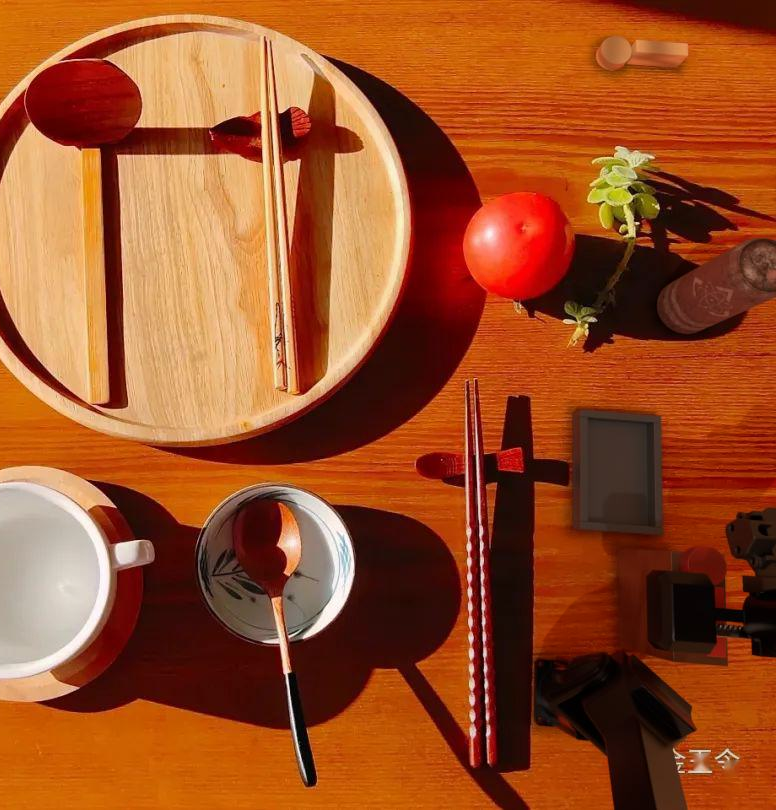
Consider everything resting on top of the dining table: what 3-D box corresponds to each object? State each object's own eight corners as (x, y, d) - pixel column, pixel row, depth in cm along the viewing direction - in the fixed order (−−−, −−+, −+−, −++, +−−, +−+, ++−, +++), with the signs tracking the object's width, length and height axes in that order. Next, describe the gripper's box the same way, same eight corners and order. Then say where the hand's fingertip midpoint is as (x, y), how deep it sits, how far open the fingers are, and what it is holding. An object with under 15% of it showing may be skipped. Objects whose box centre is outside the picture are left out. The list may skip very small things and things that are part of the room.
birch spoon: (676, 48, 91) (688, 35, 89) (676, 75, 91) (688, 63, 88) (595, 42, 91) (605, 29, 89) (595, 69, 91) (605, 57, 88)
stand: (666, 650, 79) (728, 666, 69) (618, 646, 79) (673, 662, 69) (664, 552, 81) (724, 554, 71) (617, 548, 81) (671, 550, 71)
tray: (653, 535, 81) (663, 535, 79) (572, 529, 81) (580, 528, 79) (651, 418, 83) (661, 415, 81) (572, 412, 83) (580, 409, 81)
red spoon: (720, 654, 70) (737, 658, 67) (680, 651, 70) (696, 655, 67) (717, 547, 71) (734, 547, 69) (678, 544, 71) (693, 544, 69)
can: (708, 340, 85) (801, 302, 71) (651, 329, 85) (733, 288, 71) (713, 289, 86) (806, 241, 72) (657, 278, 86) (738, 228, 72)
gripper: (964, 521, 55) (803, 526, 71) (705, 502, 55) (601, 511, 71) (979, 683, 53) (810, 651, 69) (711, 663, 53) (603, 636, 69)
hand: (705, 608), depth 69 cm, fingers open, 9 cm apart
